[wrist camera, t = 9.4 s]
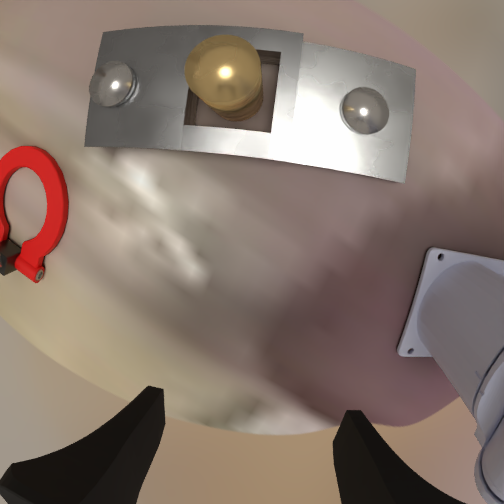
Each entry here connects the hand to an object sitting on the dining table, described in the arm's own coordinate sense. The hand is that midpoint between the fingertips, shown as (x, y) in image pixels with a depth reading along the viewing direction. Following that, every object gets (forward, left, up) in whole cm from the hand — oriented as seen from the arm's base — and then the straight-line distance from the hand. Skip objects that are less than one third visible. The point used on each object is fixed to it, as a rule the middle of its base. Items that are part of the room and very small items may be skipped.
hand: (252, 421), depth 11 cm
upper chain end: (+5, -13, -9) cm, 17 cm away
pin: (+3, -13, -9) cm, 16 cm away
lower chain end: (0, -13, -9) cm, 16 cm away
